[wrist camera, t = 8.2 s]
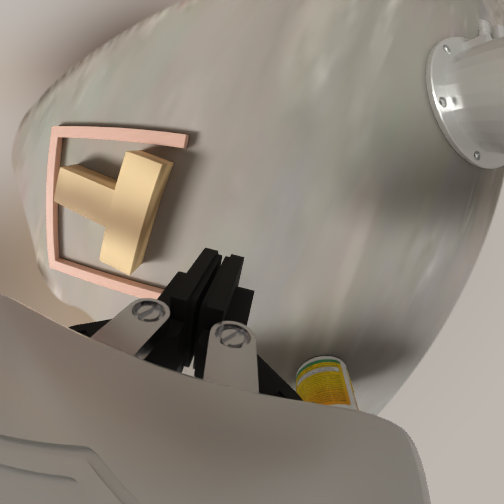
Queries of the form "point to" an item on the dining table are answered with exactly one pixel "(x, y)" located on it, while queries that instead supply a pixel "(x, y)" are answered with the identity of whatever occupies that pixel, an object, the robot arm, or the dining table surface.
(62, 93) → the dining table surface
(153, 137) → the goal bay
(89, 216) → the t block
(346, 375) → the supplement bottle
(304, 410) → the robot arm
